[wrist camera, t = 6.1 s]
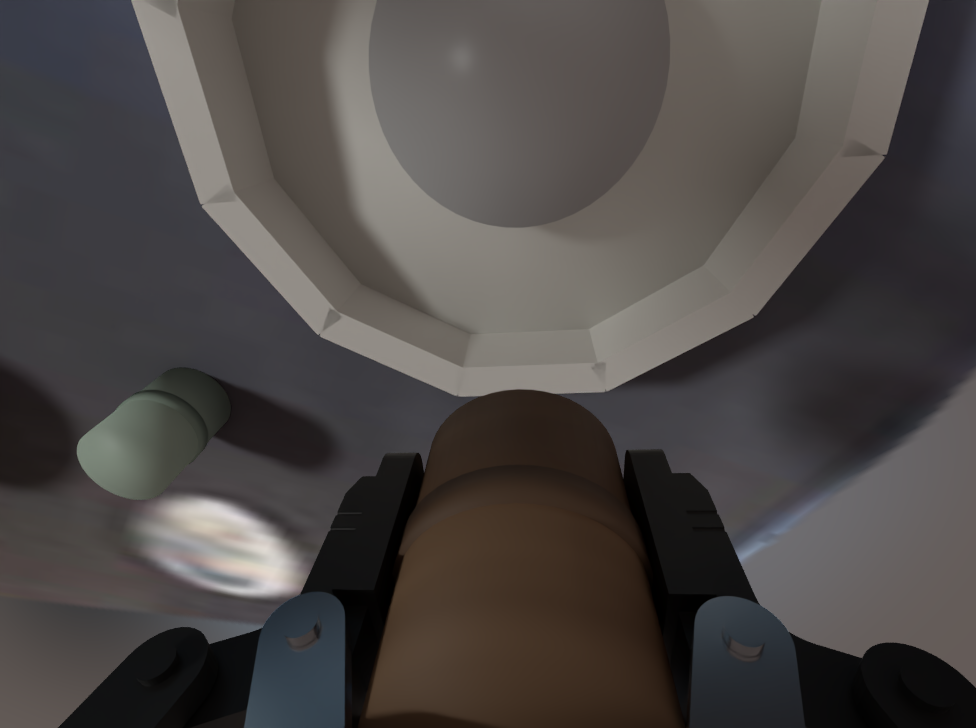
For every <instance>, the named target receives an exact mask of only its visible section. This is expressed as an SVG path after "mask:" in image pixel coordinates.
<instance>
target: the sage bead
mask: <svg viewBox="0 0 976 728" xmlns="http://www.w3.org/2000/svg"><path fill="white" fill-rule="evenodd" d="M230 413H231V405H230V401H229V398H228V396H227V394H226V392H225V390H224V389H223V388H222V387H221V385H220V384H219V383H218V382H216V381H215V380H214V379H213V378H211V377H210V376H208V375H207V374H205V373H203V372H201V371H198V370H195V369H191V368H182V367H180V368H174V369H170V370H168V371H166V372H165V373H163V374H162V375H161V376H159V377H158V378H157V379H156V380H154V381H153V382H152V383H151V384H149V385H148V386H147V387H145V388H144V389H143V390H142V391H140V392H137V393H135V394H133V395H132V396H131V397H129V398H128V399H127V400H125V401H124V402H123V403H122V404H120V405H119V406H118V408H117V409H116V411H115V412H113V413H112V414H111V415H110V416H108V417H107V418H106V419H104V420H103V421H102V422H101V423H99V424H98V425H97V426H95V427H94V428H93V429H92V430H90V431H89V432H88V433H86V434H85V435H84V436H83V437H82V438H81V439H80V441H79V443H78V445H77V456H78V460H79V462H80V464H81V466H82V468H83V469H84V471H85V472H86V473H87V475H88V476H89V477H90V478H91V479H92V480H93V481H94V482H96V483H97V484H98V485H100V486H101V487H102V488H104V489H106V490H107V491H109V492H111V493H113V494H116V495H118V496H121V497H124V498H129V499H135V500H146V499H151V498H154V497H156V496H158V495H160V494H161V493H162V492H163V491H164V490H165V489H166V488H167V487H168V486H169V485H170V484H171V482H172V481H173V480H174V479H175V478H176V477H177V476H178V475H179V474H180V472H181V471H182V470H183V469H184V468H185V467H186V466H187V465H188V464H190V463H191V462H193V461H194V460H195V459H196V458H197V456H198V455H199V454H200V453H201V452H202V451H203V450H204V449H205V447H206V445H207V443H208V442H209V440H210V439H211V438H212V437H213V436H214V435H215V434H216V433H217V432H218V430H219V429H220V428H221V427H222V426H223V425H224V424H225V423H226V422H227V420H228V419H229V416H230Z"/></svg>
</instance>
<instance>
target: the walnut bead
mask: <svg viewBox="0 0 976 728" xmlns="http://www.w3.org/2000/svg"><path fill="white" fill-rule="evenodd" d="M392 576H393V580H394V584H395V587H394V590H393V594H392V598H391V602H390V606H389V609H388V613H387V617H386V621H385V625H384V629H383V632H382V636H381V640H380V644H379V648H378V651H377V655H376V659H375V663H374V667H373V670H372V674H371V678H370V682H369V686H368V690H367V693H366V697H365V701H364V705H363V709H362V712H361V716H360V720H359V724H358V728H686V727H685V723H684V719H683V715H682V711H681V707H680V703H679V699H678V695H677V691H676V687H675V683H674V679H673V675H672V671H671V667H670V663H669V659H668V655H667V651H666V647H665V643H664V639H663V635H662V632H661V628H660V624H659V620H658V616H657V612H656V608H655V604H654V600H653V596H652V583H653V571H652V567H651V563H650V559H649V556H648V552H647V548H646V544H645V541H644V537H643V534H642V532H641V529H640V526H639V524H638V523H637V521H636V519H635V518H634V516H633V514H632V512H631V508H630V504H629V500H628V497H627V493H626V489H625V485H624V481H623V477H622V473H621V469H620V465H619V461H618V457H617V453H616V449H615V446H614V443H613V441H612V438H611V436H610V435H609V433H608V431H607V430H606V428H605V427H604V426H603V424H602V423H601V422H600V421H599V420H598V419H597V418H596V417H595V416H594V415H593V414H592V413H591V412H589V411H588V410H587V409H585V408H584V407H582V406H581V405H579V404H577V403H575V402H574V401H572V400H570V399H567V398H565V397H562V396H559V395H557V394H553V393H549V392H545V391H538V390H528V389H515V390H504V391H499V392H494V393H490V394H487V395H484V396H481V397H478V398H476V399H474V400H472V401H470V402H468V403H466V404H465V405H463V406H462V407H460V408H458V409H457V410H456V411H455V412H454V413H452V414H451V415H450V416H449V417H448V418H447V419H446V420H445V422H444V423H443V424H442V425H441V427H440V428H439V430H438V431H437V433H436V435H435V437H434V440H433V442H432V446H431V449H430V453H429V457H428V461H427V465H426V469H425V472H424V476H423V480H422V484H421V488H420V491H419V495H418V499H417V503H416V507H415V509H414V510H413V512H412V513H411V514H410V516H409V518H408V520H407V523H406V525H405V527H404V531H403V535H402V538H401V542H400V545H399V549H398V553H397V556H396V560H395V564H394V568H393V572H392Z"/></svg>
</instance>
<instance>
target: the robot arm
mask: <svg viewBox="0 0 976 728" xmlns="http://www.w3.org/2000/svg"><path fill="white" fill-rule="evenodd" d="M423 476H424V470H423V464H422V459H421V456H420V454H419V453H387V454H385V456H384V457H383V460H382V462H381V465H380V467H379V470H378V473H377V475H376V476H365V477H361V478H360V479H359V480H358V481H357V482H356V483H355V484H354V485H353V486H352V487H351V488H350V489H349V490H348V492H347V493H346V494H345V496H344V499H343V501H342V503H341V505H340V508H339V510H338V515H336V516H335V519H334V521H333V523H332V525H331V531H329V532H328V534H327V536H326V539H325V541H324V543H323V545H322V548H321V550H320V552H319V554H318V556H317V559H316V561H315V563H314V565H313V568H312V570H311V572H310V574H309V576H308V579H307V581H306V583H305V585H304V587H303V590H302V592H301V594H300V595H298V596H296V597H294V598H292V599H290V600H288V601H287V602H285V603H284V604H282V605H281V606H280V607H278V608H277V609H276V610H275V611H274V612H273V613H272V615H271V616H270V617H269V618H268V619H267V621H266V623H265V624H264V626H263V628H261V629H259V630H256V631H253V632H250V633H246V634H243V635H240V636H236V637H233V638H229V639H226V640H222V641H219V642H215V643H212V644H209V643H208V641H207V639H206V638H205V636H204V634H203V633H202V632H201V631H199V630H197V629H195V628H190V627H180V628H174V629H170V630H167V631H165V632H162V633H160V634H158V635H156V636H154V637H152V638H150V639H149V640H147V641H146V642H144V643H143V644H142V645H140V646H139V647H138V648H136V649H135V650H134V651H133V652H132V653H131V654H130V655H129V656H128V657H127V658H126V659H125V660H124V661H123V662H122V663H121V664H120V665H119V666H118V667H117V668H116V669H115V670H114V671H113V672H112V673H111V674H110V675H109V676H108V677H107V678H106V679H105V680H104V681H103V682H102V683H101V684H100V685H99V686H98V687H97V689H95V690H94V691H93V693H92V694H91V695H90V696H89V697H88V698H87V699H86V700H85V701H84V702H83V703H82V704H81V705H80V706H79V707H78V708H77V709H76V710H75V711H74V712H73V713H72V714H71V715H70V716H69V717H68V718H67V719H66V720H65V721H64V722H63V723H62V724H61V725H60V726H59V727H58V728H358V724H359V720H360V716H361V712H362V709H363V705H364V701H365V697H366V693H367V690H368V686H369V682H370V678H371V674H372V670H373V667H374V663H375V659H376V655H377V651H378V648H379V644H380V640H381V636H382V632H383V629H384V625H385V621H386V617H387V613H388V609H389V606H390V602H391V598H392V594H393V590H394V587H395V584H394V580H393V576H392V572H393V568H394V564H395V560H396V556H397V553H398V549H399V545H400V542H401V538H402V535H403V531H404V527H405V525H406V523H407V520H408V518H409V516H410V514H411V513H412V512H413V510H414V509H415V507H416V503H417V499H418V495H419V491H420V488H421V484H422V480H423ZM623 481H624V485H625V489H626V493H627V497H628V500H629V504H630V508H631V512H632V514H633V516H634V518H635V519H636V521H637V523H638V524H639V526H640V529H641V532H642V534H643V537H644V541H645V544H646V548H647V552H648V556H649V559H650V563H651V567H652V571H653V583H652V596H653V600H654V604H655V608H656V612H657V616H658V620H659V624H660V628H661V632H662V635H663V639H664V643H665V647H666V651H667V655H668V659H669V663H670V667H671V671H672V675H673V679H674V683H675V687H676V691H677V695H678V699H679V703H680V707H681V711H682V715H683V719H684V723H685V727H686V728H976V688H975V687H974V686H973V685H972V684H971V683H970V682H969V681H968V680H967V679H966V678H965V677H964V676H963V675H961V674H960V673H959V672H958V671H957V670H956V669H954V668H953V667H951V666H950V665H949V664H947V663H946V662H944V661H943V660H941V659H939V658H938V657H936V656H934V655H932V654H930V653H928V652H926V651H924V650H921V649H919V648H916V647H913V646H909V645H906V644H900V643H882V644H877V645H875V646H872V647H871V648H870V649H868V650H867V651H866V653H865V654H864V656H863V658H859V657H856V656H853V655H850V654H846V653H843V652H840V651H836V650H833V649H830V648H826V647H823V646H820V645H816V644H813V643H811V642H808V641H805V640H803V639H801V638H799V637H797V636H795V635H793V634H791V633H790V632H788V631H787V629H786V627H785V626H784V625H783V624H782V623H781V621H780V620H779V619H777V617H775V616H774V615H773V614H772V613H771V612H769V611H768V610H767V609H765V608H763V607H762V606H761V605H760V604H759V603H758V601H757V599H756V597H755V595H754V593H753V591H752V588H751V586H750V584H749V582H748V579H747V577H746V575H745V573H744V570H743V568H742V566H741V563H740V561H739V559H738V557H737V555H736V552H735V550H734V548H733V546H732V543H731V541H730V539H729V537H728V534H727V532H725V530H724V525H723V523H722V521H721V519H720V517H719V515H717V510H716V508H715V505H714V503H713V501H712V499H711V496H710V494H709V492H708V490H707V489H706V488H705V487H704V486H703V485H702V484H701V483H700V482H699V481H697V480H696V479H695V478H694V477H693V476H692V475H691V474H690V473H672V472H671V470H670V467H669V464H668V462H667V459H666V456H665V454H664V452H663V450H661V449H651V450H627V451H626V454H625V464H624V479H623Z"/></svg>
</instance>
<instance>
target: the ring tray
mask: <svg viewBox="0 0 976 728" xmlns="http://www.w3.org/2000/svg"><path fill="white" fill-rule="evenodd" d="M131 1H132V4H133V7H134V10H135V13H136V16H137V19H138V22H139V25H140V28H141V31H142V33H143V36H144V39H145V42H146V45H147V48H148V51H149V54H150V57H151V60H152V63H153V66H154V69H155V72H156V75H157V78H158V81H159V84H160V87H161V89H162V92H163V95H164V98H165V101H166V104H167V107H168V110H169V113H170V116H171V119H172V122H173V125H174V128H175V131H176V134H177V137H178V140H179V143H180V145H181V148H182V151H183V154H184V157H185V160H186V163H187V166H188V169H189V172H190V175H191V178H192V181H193V184H194V187H195V190H196V193H197V196H198V199H199V201H200V204H204V205H203V206H202V207H203V208H204V209H205V211H206V212H207V213H208V214H209V215H210V216H211V217H212V218H213V219H214V221H215V222H216V223H217V224H218V225H219V226H220V227H221V228H222V229H223V231H224V232H225V233H226V234H227V235H228V236H229V237H230V238H231V239H232V241H233V242H234V243H235V244H236V245H237V246H238V247H239V248H240V249H241V251H242V252H243V253H244V254H245V255H246V256H247V257H248V258H249V259H250V260H251V262H252V263H253V264H254V265H255V266H256V267H257V268H258V269H259V270H260V272H261V273H262V274H263V275H264V276H265V277H266V278H267V279H268V280H269V282H270V283H271V284H272V285H273V286H274V287H275V288H276V289H277V290H278V292H279V293H280V294H281V295H282V296H283V297H284V298H285V299H286V300H287V302H288V303H289V304H290V305H291V306H292V307H293V308H294V309H295V310H296V311H297V313H298V314H299V315H300V316H301V317H302V318H303V319H304V320H305V321H306V323H307V324H308V325H309V326H310V327H311V328H312V329H313V330H314V331H315V333H316V334H317V335H319V334H320V333H321V334H320V337H322V338H324V339H327V340H329V341H331V342H334V343H336V344H338V345H340V346H343V347H345V348H347V349H350V350H352V351H354V352H356V353H359V354H361V355H363V356H366V357H368V358H370V359H373V360H375V361H377V362H379V363H382V364H384V365H386V366H389V367H391V368H393V369H395V370H398V371H400V372H402V373H405V374H407V375H409V376H411V377H414V378H416V379H418V380H421V381H423V382H425V383H428V384H430V385H432V386H434V387H437V388H439V389H441V390H444V391H446V392H448V393H450V394H453V395H455V396H457V394H458V396H459V397H460V396H484V395H487V394H490V393H494V392H499V391H504V390H515V389H528V390H538V391H545V392H549V393H553V394H557V393H589V392H605V389H606V391H609V390H611V389H613V388H615V387H617V386H619V385H621V384H623V383H625V382H627V381H629V380H631V379H633V378H635V377H637V376H639V375H641V374H643V373H645V372H647V371H649V370H651V369H653V368H655V367H656V366H658V365H660V364H662V363H664V362H666V361H668V360H670V359H672V358H674V357H676V356H678V355H680V354H682V353H684V352H686V351H688V350H690V349H692V348H694V347H696V346H698V345H700V344H702V343H704V342H706V341H708V340H710V339H712V338H714V337H716V336H718V335H720V334H722V333H724V332H726V331H728V330H730V329H732V328H734V327H736V326H738V325H740V324H742V323H744V322H746V321H748V320H750V319H752V318H754V317H753V315H755V316H756V315H757V314H758V312H759V311H760V310H761V309H762V308H763V306H764V305H765V304H766V303H767V301H768V300H769V299H770V298H771V297H772V295H773V294H774V293H775V292H776V290H777V289H778V288H779V287H780V286H781V284H782V283H783V282H784V281H785V279H786V278H787V277H788V276H789V275H790V273H791V272H792V271H793V270H794V268H795V267H796V266H797V265H798V264H799V262H800V261H801V260H802V259H803V257H804V256H805V255H806V254H807V253H808V251H809V250H810V249H811V248H812V246H813V245H814V244H815V243H816V242H817V240H818V239H819V238H820V237H821V235H822V234H823V233H824V232H825V231H826V229H827V228H828V227H829V226H830V224H831V223H832V222H833V221H834V220H835V218H836V217H837V216H838V215H839V213H840V212H841V211H842V210H843V208H844V207H845V206H846V205H847V204H848V202H849V201H850V200H851V199H852V197H853V196H854V195H855V194H856V193H857V191H858V190H859V189H860V188H861V186H862V185H863V184H864V183H865V182H866V180H867V179H868V178H869V177H870V175H871V174H872V173H873V172H874V171H875V169H876V168H877V167H878V166H879V164H880V163H881V162H882V161H883V160H884V158H885V157H884V156H882V155H886V154H887V152H888V148H889V145H890V141H891V137H892V134H893V130H894V126H895V123H896V119H897V116H898V112H899V108H900V105H901V101H902V97H903V94H904V90H905V86H906V83H907V79H908V75H909V72H910V68H911V65H912V61H913V57H914V54H915V50H916V46H917V43H918V39H919V35H920V32H921V28H922V24H923V21H924V17H925V13H926V10H927V6H928V3H929V0H131ZM752 314H753V315H752Z"/></svg>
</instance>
